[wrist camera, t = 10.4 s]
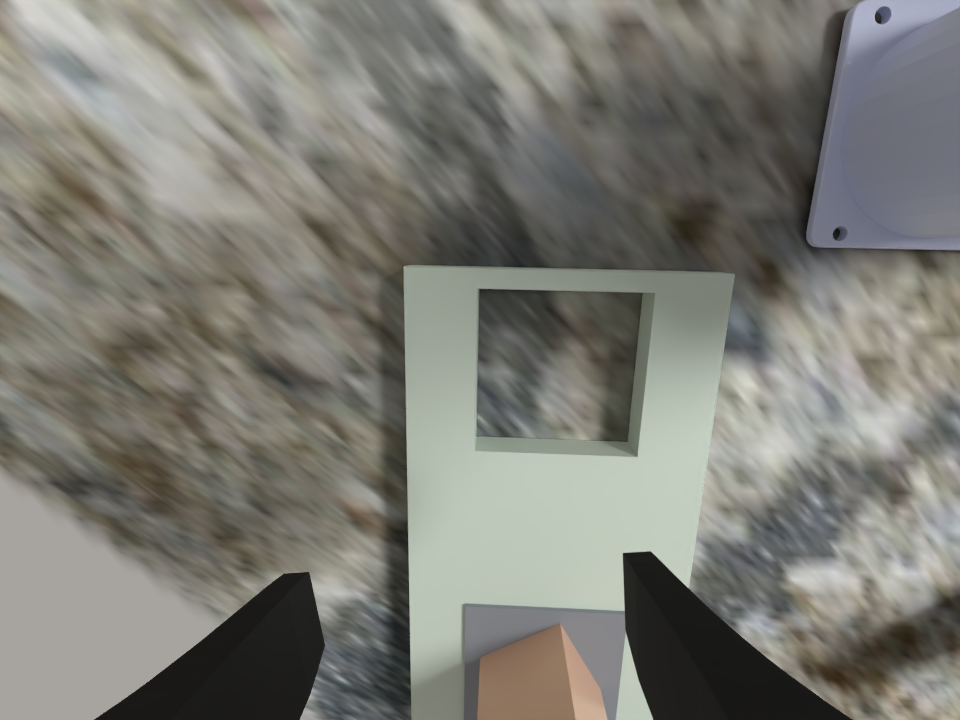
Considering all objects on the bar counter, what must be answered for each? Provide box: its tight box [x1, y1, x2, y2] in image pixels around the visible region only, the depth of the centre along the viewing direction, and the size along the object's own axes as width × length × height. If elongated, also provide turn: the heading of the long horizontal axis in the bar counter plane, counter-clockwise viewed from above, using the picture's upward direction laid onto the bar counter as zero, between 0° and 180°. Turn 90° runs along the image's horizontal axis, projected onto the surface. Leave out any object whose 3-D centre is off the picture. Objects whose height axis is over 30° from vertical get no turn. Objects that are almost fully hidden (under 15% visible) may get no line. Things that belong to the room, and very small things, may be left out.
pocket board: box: [404, 265, 735, 720], centre depth 20 cm, size 12×22×2 cm, turn 179°
